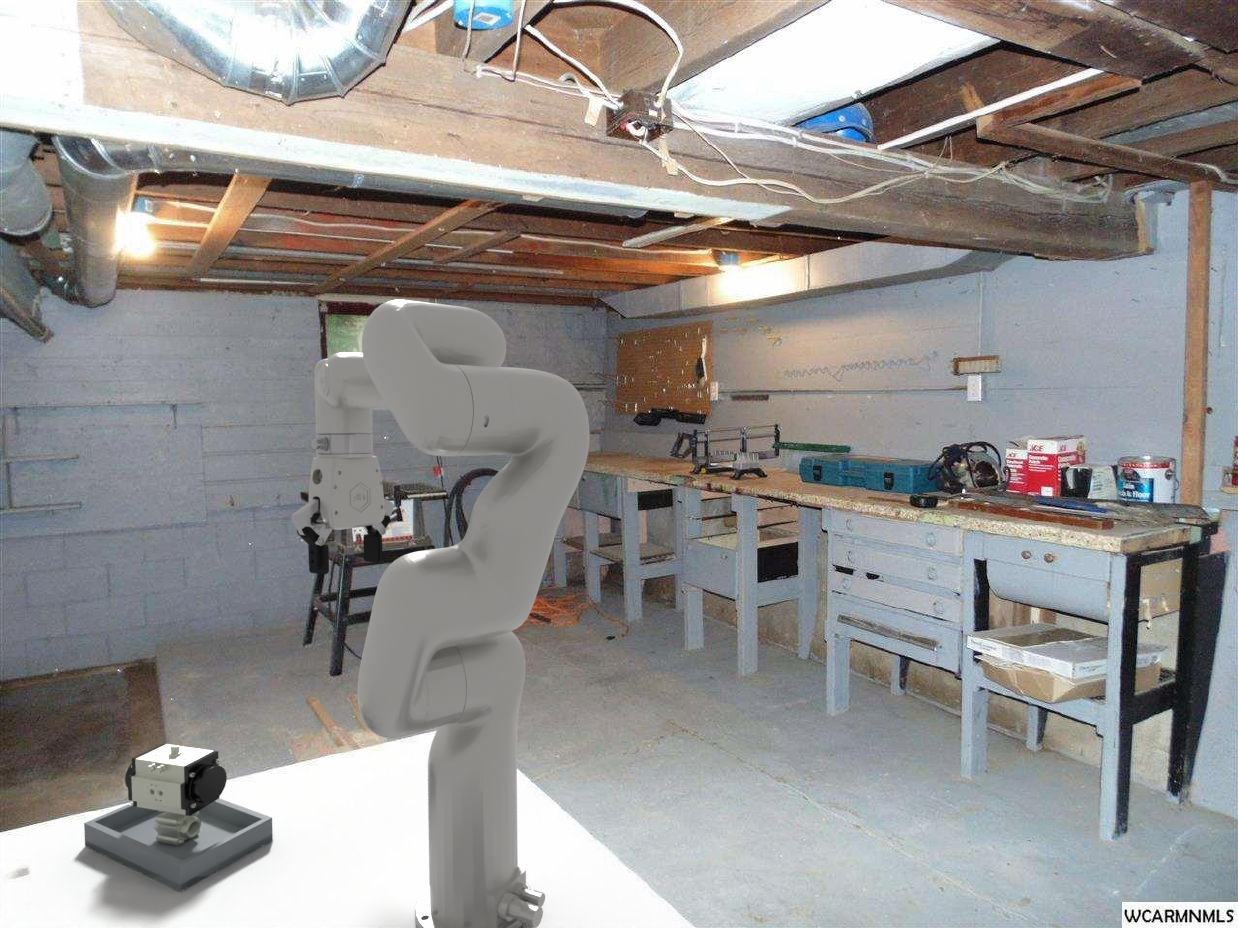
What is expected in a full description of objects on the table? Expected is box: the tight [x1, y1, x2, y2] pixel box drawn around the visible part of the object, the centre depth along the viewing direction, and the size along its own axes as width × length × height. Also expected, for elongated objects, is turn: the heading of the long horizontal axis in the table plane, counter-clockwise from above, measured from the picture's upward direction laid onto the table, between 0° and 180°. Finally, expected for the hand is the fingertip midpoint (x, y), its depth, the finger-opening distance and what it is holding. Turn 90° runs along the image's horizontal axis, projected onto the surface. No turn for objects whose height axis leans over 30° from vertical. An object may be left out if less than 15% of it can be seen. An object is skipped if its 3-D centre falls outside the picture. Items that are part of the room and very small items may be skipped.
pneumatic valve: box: [124, 743, 228, 846], centre depth 94 cm, size 6×12×12 cm, turn 74°
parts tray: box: [83, 798, 274, 893], centre depth 95 cm, size 20×12×3 cm, turn 62°
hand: (347, 567), depth 106 cm, fingers open, 9 cm apart
